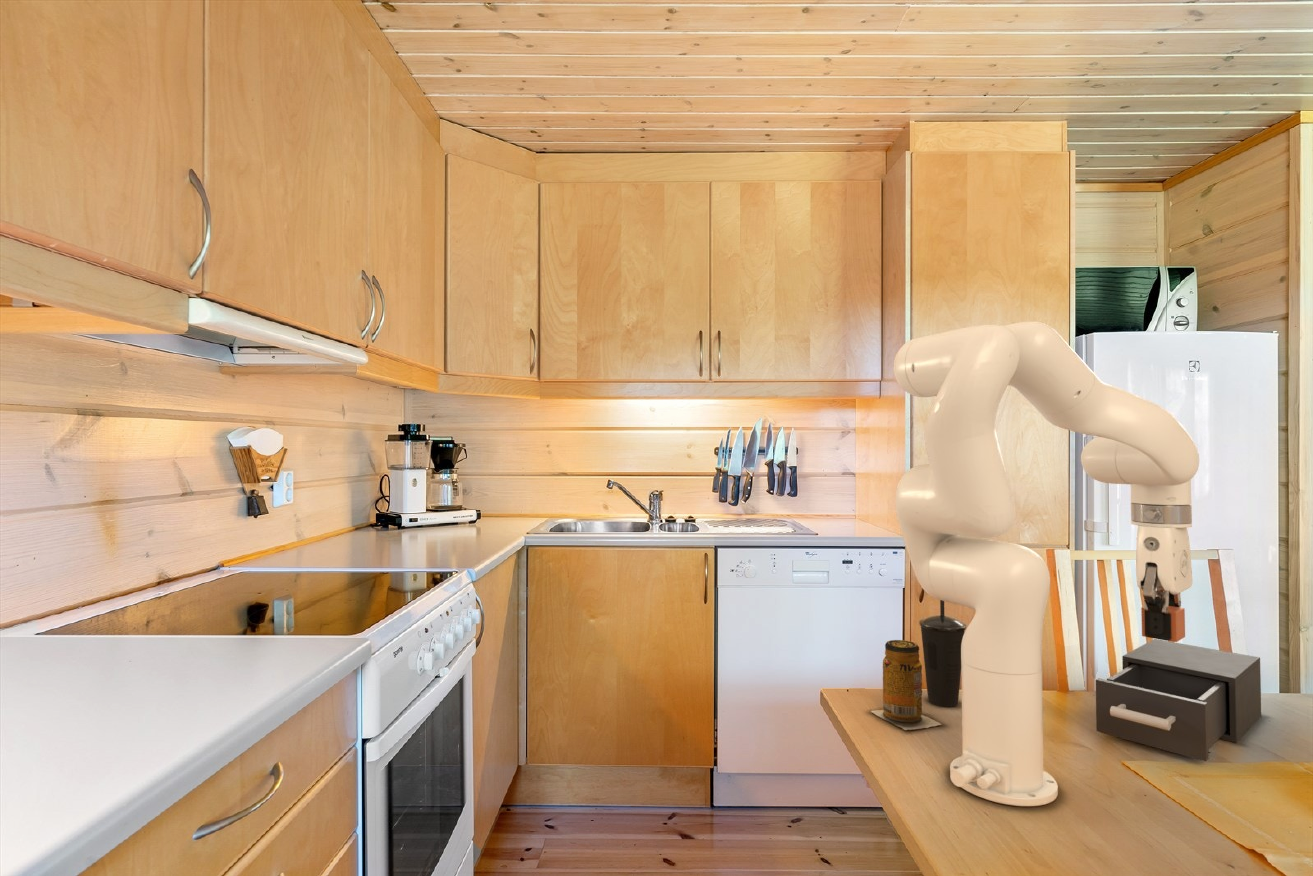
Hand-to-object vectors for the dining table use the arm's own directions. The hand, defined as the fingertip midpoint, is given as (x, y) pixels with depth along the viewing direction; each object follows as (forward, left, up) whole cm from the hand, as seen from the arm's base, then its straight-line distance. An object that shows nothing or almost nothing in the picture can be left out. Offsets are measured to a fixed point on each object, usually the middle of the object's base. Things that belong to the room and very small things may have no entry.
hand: (1163, 634), depth 105 cm
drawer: (-2, 0, -15) cm, 15 cm away
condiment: (-24, +29, -16) cm, 41 cm away
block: (0, 0, 0) cm, 0 cm away
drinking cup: (-12, +29, -16) cm, 35 cm away
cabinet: (+14, 0, -16) cm, 21 cm away
